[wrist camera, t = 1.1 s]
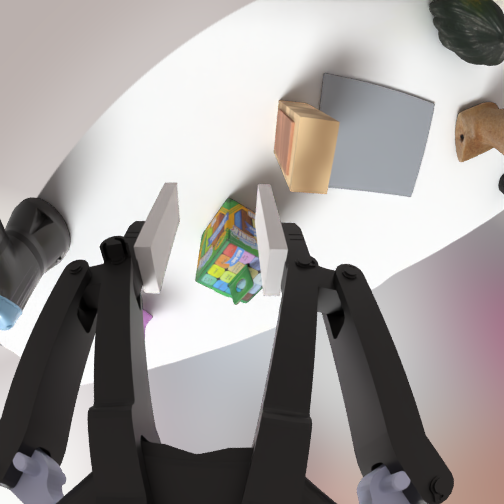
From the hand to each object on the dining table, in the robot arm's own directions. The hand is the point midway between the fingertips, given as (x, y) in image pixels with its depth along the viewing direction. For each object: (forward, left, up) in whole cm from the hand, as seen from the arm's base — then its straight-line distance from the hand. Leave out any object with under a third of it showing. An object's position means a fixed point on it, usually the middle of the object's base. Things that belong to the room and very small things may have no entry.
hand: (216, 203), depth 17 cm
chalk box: (+2, -18, -25) cm, 31 cm away
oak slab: (+9, 0, -25) cm, 26 cm away
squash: (+35, +26, -25) cm, 50 cm away
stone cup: (+45, +9, -25) cm, 52 cm away
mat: (+23, 0, -25) cm, 34 cm away
